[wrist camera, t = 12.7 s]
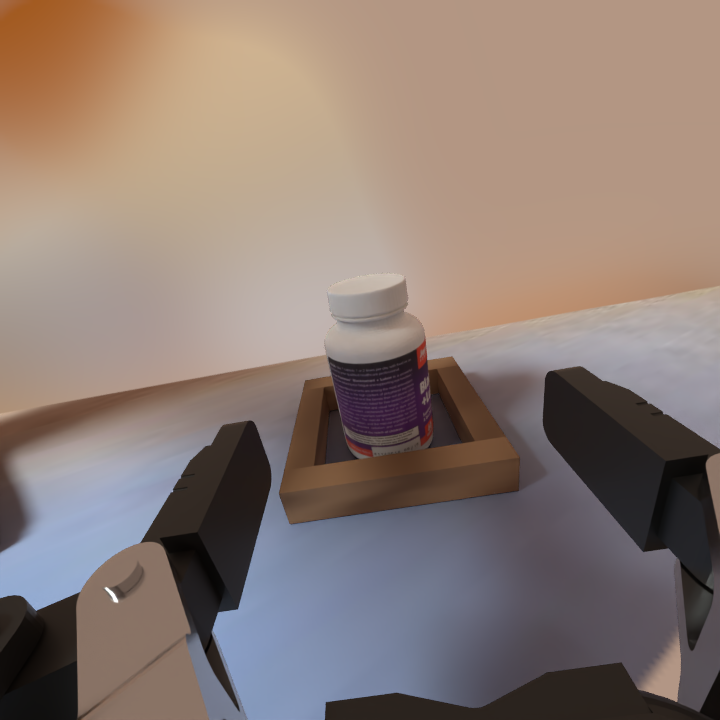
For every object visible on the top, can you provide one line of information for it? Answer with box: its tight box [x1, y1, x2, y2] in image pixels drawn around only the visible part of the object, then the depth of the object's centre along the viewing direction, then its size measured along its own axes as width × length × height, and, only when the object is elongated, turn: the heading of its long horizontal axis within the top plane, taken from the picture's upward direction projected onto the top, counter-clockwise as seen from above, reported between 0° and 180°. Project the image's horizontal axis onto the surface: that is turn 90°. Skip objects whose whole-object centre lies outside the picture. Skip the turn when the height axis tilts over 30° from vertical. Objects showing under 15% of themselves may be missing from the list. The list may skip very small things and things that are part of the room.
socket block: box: [279, 357, 520, 524], centre depth 21 cm, size 11×11×2 cm
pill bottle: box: [325, 273, 433, 459], centre depth 19 cm, size 5×5×10 cm
